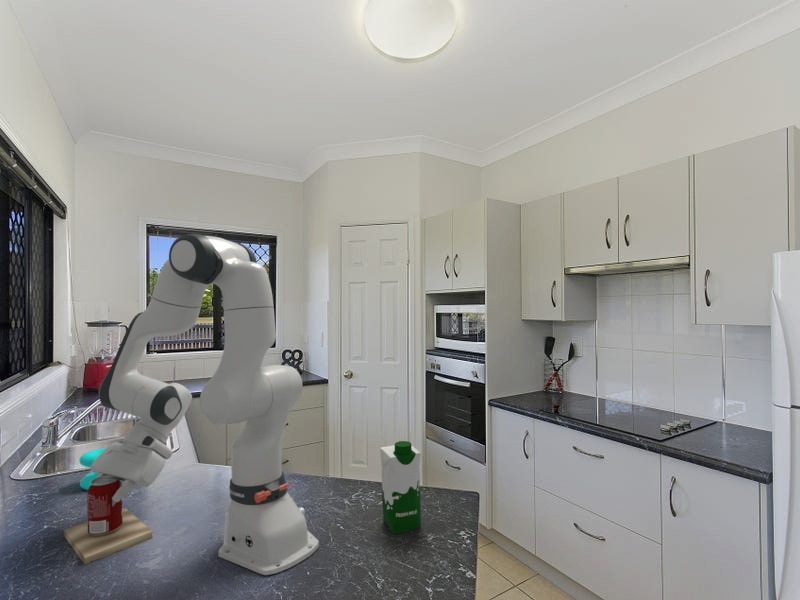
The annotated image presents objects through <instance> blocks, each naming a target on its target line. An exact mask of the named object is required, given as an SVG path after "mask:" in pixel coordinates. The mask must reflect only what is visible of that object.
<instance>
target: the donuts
mask: <svg viewBox="0 0 800 600" xmlns="http://www.w3.org/2000/svg"><path fill="white" fill-rule="evenodd" d="M106 448H107V447H102V448H101V447H100V448H97V449H92V450H89V451H87V452H84V453H82V455H81V456H80V457H79V464H80V465H82V467H86V468H91V465H92V463H93V462H94V461H95V460H96V459H97V457H98V456H99V455H100V454H101V453H102V452H103V451H104V450H105V449H106ZM98 475H99V474H97V473H95V472H93V471H91V472H90V473H88V474H86V475H84V476H83V477H82V478H81V480H80V482H79V487H80V488H81V489H83V490H86V491H87V490H88V488H89V487H90V486H91V484H90V483H91V481H92V480H94V479H96V477H97V476H98Z"/></svg>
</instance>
